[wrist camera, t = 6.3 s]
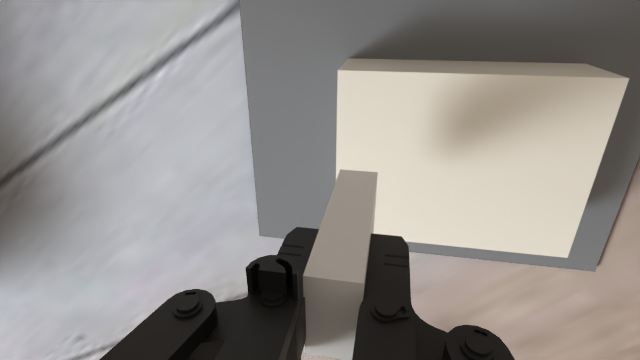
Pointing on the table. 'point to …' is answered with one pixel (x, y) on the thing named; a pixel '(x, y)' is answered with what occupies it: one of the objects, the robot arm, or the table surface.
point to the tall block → (477, 147)
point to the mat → (421, 44)
